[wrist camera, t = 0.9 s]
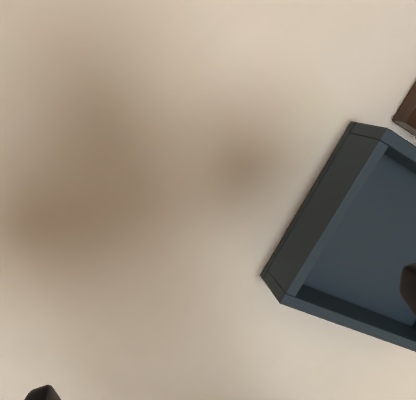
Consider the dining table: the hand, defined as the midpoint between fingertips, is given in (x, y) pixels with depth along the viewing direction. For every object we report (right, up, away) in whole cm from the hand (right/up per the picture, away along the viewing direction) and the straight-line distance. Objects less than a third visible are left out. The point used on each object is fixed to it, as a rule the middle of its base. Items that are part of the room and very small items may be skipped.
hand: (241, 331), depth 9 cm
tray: (+13, 0, +19) cm, 23 cm away
